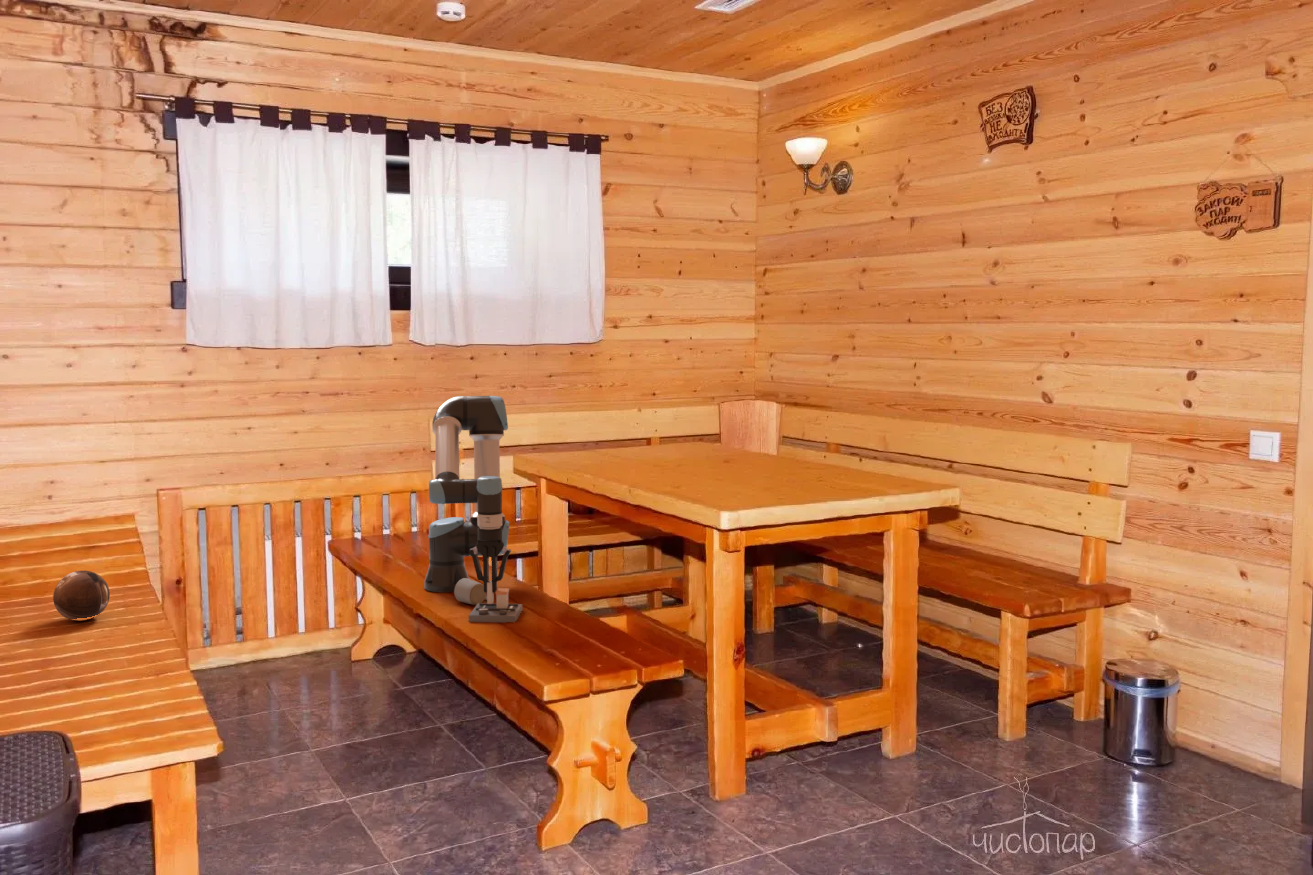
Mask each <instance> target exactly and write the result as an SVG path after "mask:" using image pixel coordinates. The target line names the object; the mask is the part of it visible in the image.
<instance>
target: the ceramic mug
mask: <svg viewBox="0 0 1313 875" xmlns="http://www.w3.org/2000/svg"><path fill="white" fill-rule="evenodd" d="M453 593H454V598H455V599H456V600H457V601H458V602H461V603H464V604H468V605H471V606H472V605H473V606H476V605H477V604H478V603H479V604H480V603H483V602H484V601H487V592H484V584H482V583H481V582H478V581H475V580H473V579H470V578H469V579H468V578H463V579H461V580H459V581H458V582H457V584H456V586H455V590H454V592H453Z"/></svg>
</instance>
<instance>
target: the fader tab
mask: <svg viewBox="0 0 1313 875" xmlns="http://www.w3.org/2000/svg"><path fill="white" fill-rule="evenodd" d="M509 593H510V588H508V587H507V588H506V587H505V588H502V587H501V588H500V587H499V588H498V587H497V590H496V592H495V598H496V600H495V601H496V604H497V608H507V607H508V604H509Z"/></svg>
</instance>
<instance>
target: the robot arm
mask: <svg viewBox="0 0 1313 875" xmlns="http://www.w3.org/2000/svg"><path fill="white" fill-rule="evenodd" d="M506 408H507V407H506V404H505V400H504V398H503V397H502V396H499V395H498V396H497V395H464V396H463V395H458V396H457V395H456V396H454V397H451V398H449V399H447V400H446V401H444V402H443V403H442V404H441V405H440V406H439V407H438V409H437V410H436V411H435V413H434V416H433V420H432V424H431V427H432V432H433V434H434V436H435V437H434V438H435V440H434V441H435V443H434V444H435V451H434V452H435V453H434V454H435V460H434V461H435V464H434V465H435V466H434V469H435V476H434V477H435V478H434V479H430V480H429V481H428V498H429V499H428V500H429V502H430V503H431V504H436V505H438V504H439V505H448V504H449V505H450V504H474V512H473V513H472V514H471V515H470V516H469V518H470V519H469V520H470V521H465V519H464V518H463V517H462V516H461V517H460V516H454V517H453V516H451V517H446V518H441V519H438V520H434V521H433V522H431V523H430V524H429V526H428V536H427V537H428V559H429V562H428V563H429V564H428V568H427V571H426V575H425V577H424V581H423V586H424V587H423V588H424V590H425V591H429V592H434V593H454V590H455V586H456V584H457V582H458V581H459V580H461V579H463V578H468V579H470V578H469V577H470V576H469V575H468V571H467V569H466V565H465V557H471V558H472V561H473V566H474V570H475V574H476V578H477V580H478V581H482V582H483V585H484V592H486V595H487V600H486V603H487V604H492V603H494V601H495V600H494V599H495V598H494V596H495V595H494V594H496V590H497V589H498V582H500V581H502V579H503V578H504V574H505V570H506V567H507V561H508V559H509V558H508V557H509V555H510V554H511V552H512V549H510V548H507V547H508V540H509V531H510V521H508V519H506V515H505V514H504V513H503V482H502V481H503V480H502V478H501V472H500V470H501V469H500V468H501V465H500V463H501V462H500V461H501V460H500V454H501V453H500V441H501V439H502V438H503V437H504V436H505V435H504V434H505V433H504V431H507V430H509V425H508V424H509V423H508V415H507V409H506ZM462 431H468V432H469V433H468V434H469V437H470V439H472V441H473V465H474V466H473V467H474V468H473V469H474V470H473V472H474V474H473V476H474V477H473V478H465V479H464V478H460V437H459V435H460V434H461V433H462ZM502 555H503V556H502ZM498 556H502V559H501V563H500V568H499V572H498ZM479 557H482V561H483V562H482V563H483V568H482V567H481V563H480V559H479ZM490 559H491V560H490ZM490 561H491V580H490V572H489V571H490V570H489V567H490V566H489V565H490V564H489V562H490Z"/></svg>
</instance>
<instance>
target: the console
mask: <svg viewBox="0 0 1313 875" xmlns="http://www.w3.org/2000/svg"><path fill="white" fill-rule="evenodd" d="M521 611H522V612H523V603H508V607H507V608H497V604H496V603H494V602H493V603H492V604H487V602H486V603H485V602H484V603H483V602H482V603H480V604H479V603H478V604H477V605H475V607H474V608H473V609H472V610H471V611H470V612H469V615H468V622H469V623H506V622H515V621H516V622H517V620H518V619H519V617H520V615H521V614H522V612H521ZM520 613H521V614H520ZM516 622H515V623H516Z"/></svg>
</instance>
